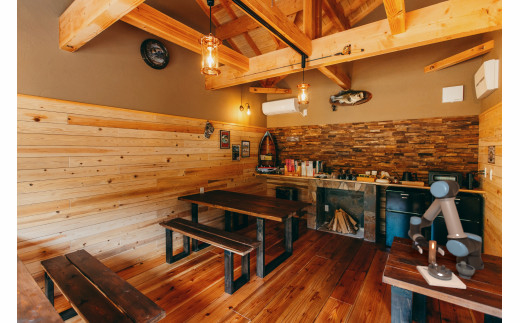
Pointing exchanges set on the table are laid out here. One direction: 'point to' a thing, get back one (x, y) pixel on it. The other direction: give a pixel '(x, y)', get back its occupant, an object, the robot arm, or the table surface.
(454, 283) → the base plate
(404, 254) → the table surface
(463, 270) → the mortar and pestle
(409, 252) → the table surface
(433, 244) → the crank handle
